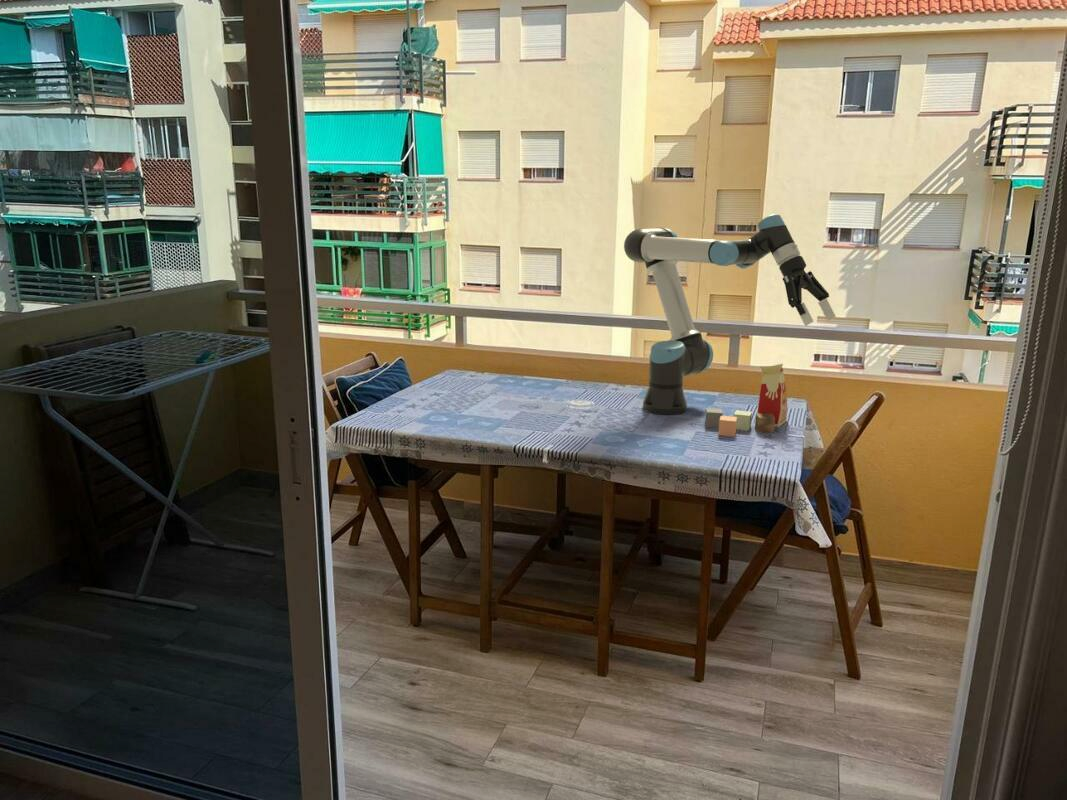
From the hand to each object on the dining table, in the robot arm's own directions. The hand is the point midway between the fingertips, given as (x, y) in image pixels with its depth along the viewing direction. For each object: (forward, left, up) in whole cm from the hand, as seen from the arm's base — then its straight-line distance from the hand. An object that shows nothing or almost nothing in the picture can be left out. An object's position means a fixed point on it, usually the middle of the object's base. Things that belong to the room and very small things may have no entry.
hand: (820, 321), depth 237 cm
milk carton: (-12, +7, -36) cm, 38 cm away
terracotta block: (-25, -10, -35) cm, 44 cm away
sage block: (-21, -2, -35) cm, 41 cm away
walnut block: (-14, -3, -35) cm, 38 cm away
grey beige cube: (-30, -2, -35) cm, 46 cm away
